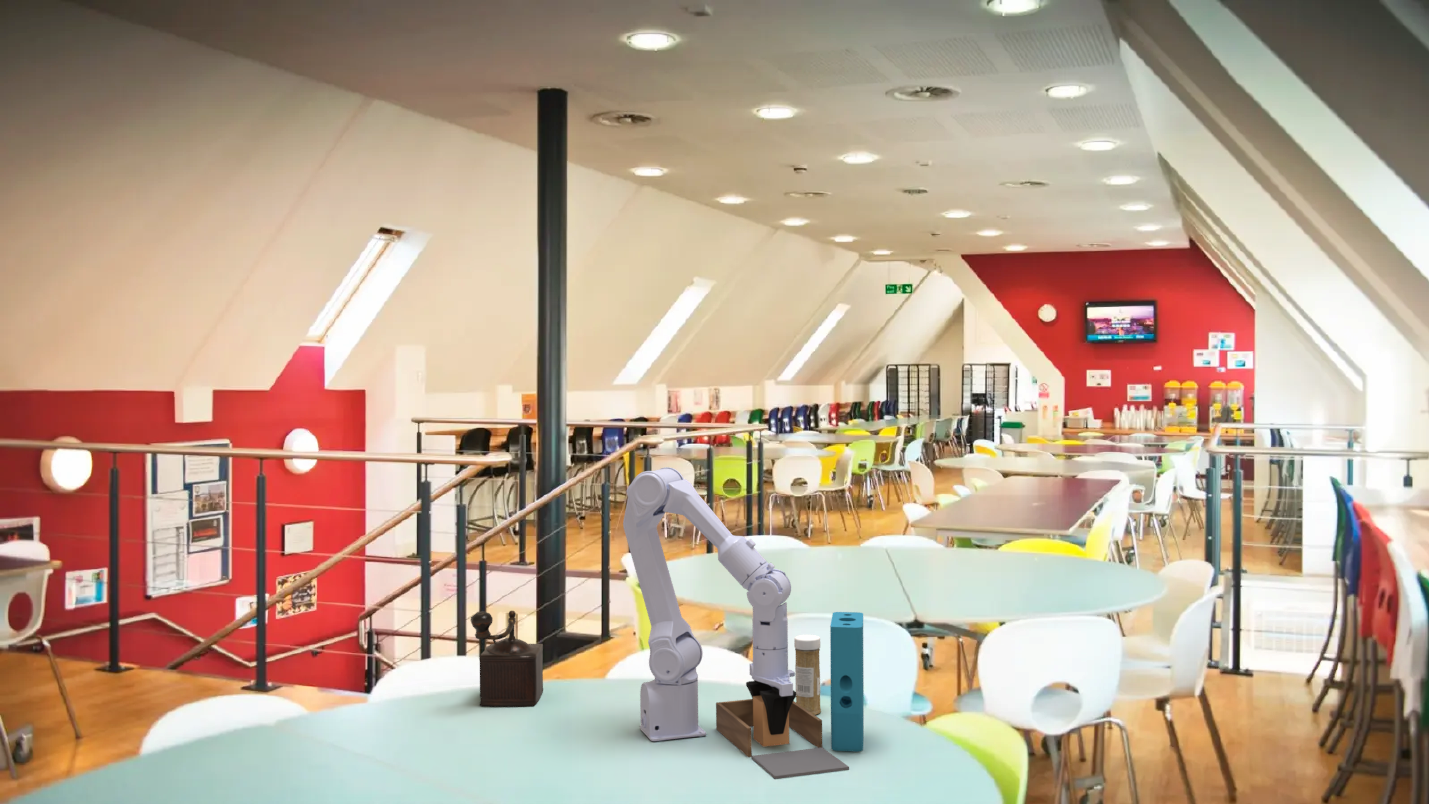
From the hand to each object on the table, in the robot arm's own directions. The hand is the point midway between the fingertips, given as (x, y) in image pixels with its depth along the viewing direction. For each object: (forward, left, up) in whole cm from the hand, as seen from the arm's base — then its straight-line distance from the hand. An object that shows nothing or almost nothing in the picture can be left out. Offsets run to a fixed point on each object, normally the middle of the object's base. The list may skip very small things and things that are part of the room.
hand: (771, 729), depth 190 cm
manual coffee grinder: (-37, +38, -2) cm, 53 cm away
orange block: (0, 0, -2) cm, 2 cm away
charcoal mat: (0, -12, -2) cm, 12 cm away
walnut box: (0, +1, -2) cm, 2 cm away
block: (+11, -5, -2) cm, 13 cm away
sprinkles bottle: (+12, +13, -2) cm, 18 cm away
